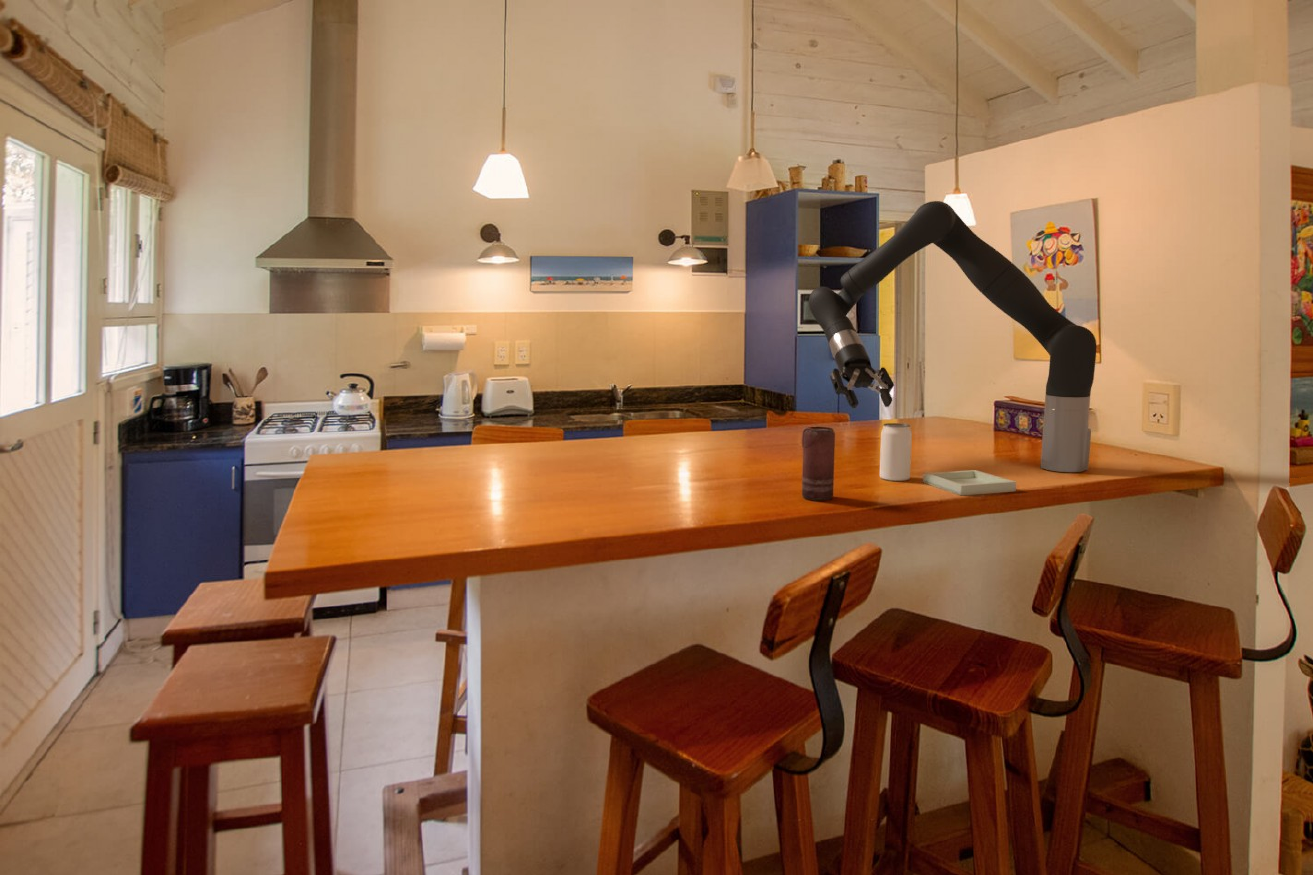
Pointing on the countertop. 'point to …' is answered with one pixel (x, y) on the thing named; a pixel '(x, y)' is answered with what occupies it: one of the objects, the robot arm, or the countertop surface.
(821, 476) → the can
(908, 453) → the can
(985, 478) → the tray
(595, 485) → the countertop surface
